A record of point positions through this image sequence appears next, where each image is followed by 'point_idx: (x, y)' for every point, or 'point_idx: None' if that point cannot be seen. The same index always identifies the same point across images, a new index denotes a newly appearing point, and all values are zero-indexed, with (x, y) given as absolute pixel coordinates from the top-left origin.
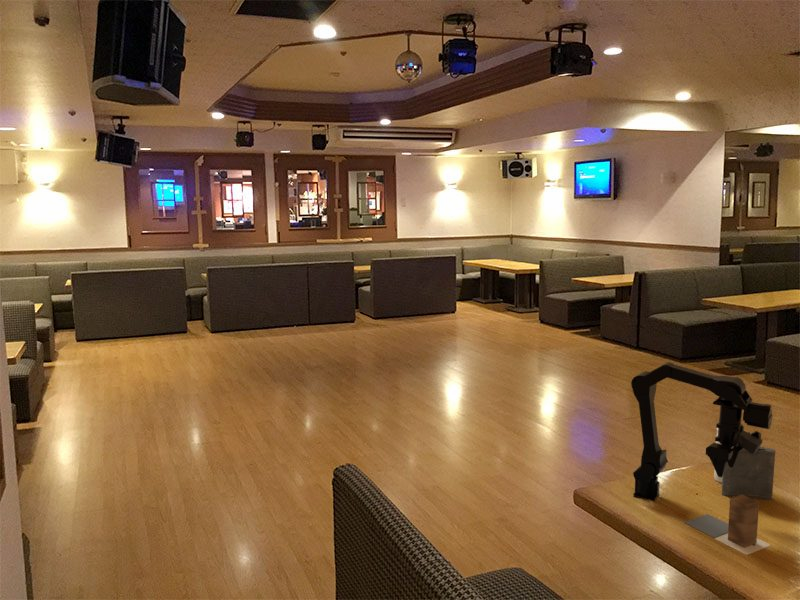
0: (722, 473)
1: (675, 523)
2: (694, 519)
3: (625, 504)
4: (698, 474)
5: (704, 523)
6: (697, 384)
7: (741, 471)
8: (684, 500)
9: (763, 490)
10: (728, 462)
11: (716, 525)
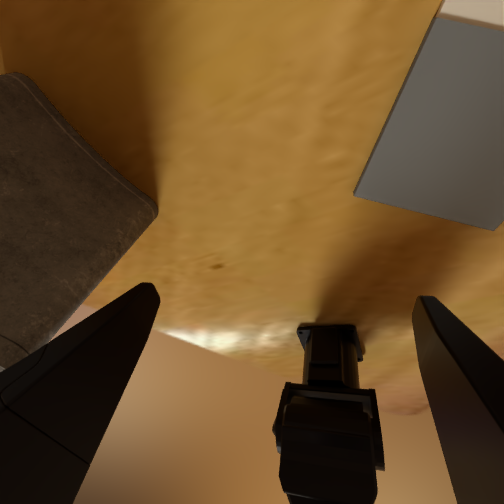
0: (470, 331)
1: (498, 247)
2: (442, 212)
3: None
4: (116, 292)
5: (463, 170)
6: None
7: (40, 225)
8: (287, 276)
9: (17, 110)
10: (147, 330)
11: (458, 123)
